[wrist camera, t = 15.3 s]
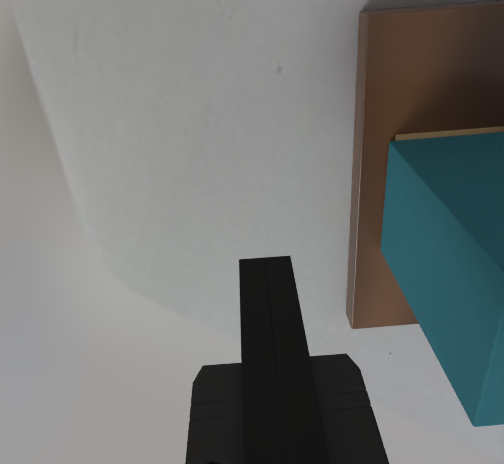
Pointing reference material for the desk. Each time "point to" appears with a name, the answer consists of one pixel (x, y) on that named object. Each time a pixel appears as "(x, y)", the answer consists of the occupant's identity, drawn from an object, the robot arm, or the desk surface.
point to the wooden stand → (413, 121)
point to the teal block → (452, 257)
